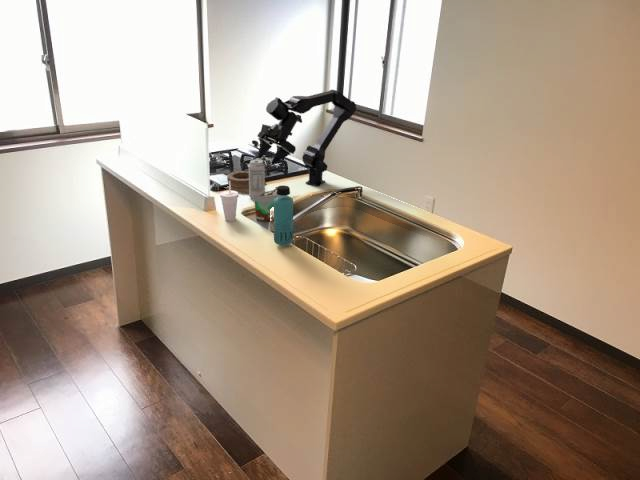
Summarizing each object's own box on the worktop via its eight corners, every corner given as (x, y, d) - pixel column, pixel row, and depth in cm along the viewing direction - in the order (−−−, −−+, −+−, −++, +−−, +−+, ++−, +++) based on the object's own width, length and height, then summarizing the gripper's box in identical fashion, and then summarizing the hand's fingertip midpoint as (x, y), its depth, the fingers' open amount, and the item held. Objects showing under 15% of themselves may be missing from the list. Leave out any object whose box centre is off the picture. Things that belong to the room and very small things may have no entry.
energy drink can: (266, 195, 210) (265, 159, 204) (263, 201, 205) (262, 164, 198) (251, 194, 211) (250, 158, 204) (247, 200, 205) (246, 163, 199)
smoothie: (242, 217, 190) (241, 180, 184) (232, 223, 185) (231, 185, 179) (227, 214, 193) (226, 177, 187) (217, 220, 188) (215, 182, 181)
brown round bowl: (237, 178, 228) (236, 168, 226) (265, 183, 223) (265, 173, 221) (218, 188, 216) (218, 177, 214) (248, 194, 211) (248, 183, 209)
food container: (266, 226, 184) (266, 199, 180) (253, 221, 187) (252, 195, 183) (289, 215, 193) (289, 190, 189) (276, 211, 196) (276, 186, 192)
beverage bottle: (278, 251, 167) (277, 191, 158) (270, 242, 172) (269, 184, 164) (296, 247, 170) (297, 188, 161) (288, 239, 175) (288, 182, 166)
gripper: (258, 111, 206) (238, 145, 206) (286, 120, 193) (264, 157, 193) (277, 125, 214) (257, 158, 214) (305, 135, 201) (284, 171, 201)
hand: (265, 161), depth 205 cm, fingers open, 9 cm apart
